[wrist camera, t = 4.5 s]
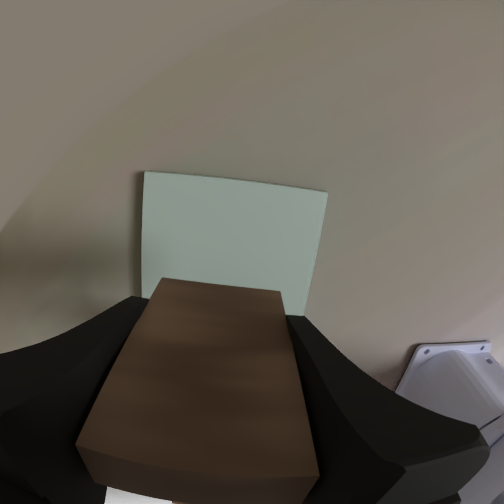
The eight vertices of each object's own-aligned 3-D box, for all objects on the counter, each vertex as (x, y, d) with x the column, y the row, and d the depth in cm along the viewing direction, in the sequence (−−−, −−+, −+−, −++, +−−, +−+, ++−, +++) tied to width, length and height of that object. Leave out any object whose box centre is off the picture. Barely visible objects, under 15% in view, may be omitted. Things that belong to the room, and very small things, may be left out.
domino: (280, 290, 12) (320, 475, 4) (273, 327, 12) (298, 508, 5) (161, 277, 11) (75, 444, 4) (161, 314, 12) (94, 482, 5)
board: (325, 191, 17) (327, 192, 16) (257, 473, 26) (257, 477, 26) (147, 170, 16) (144, 171, 16) (160, 463, 26) (159, 467, 25)
